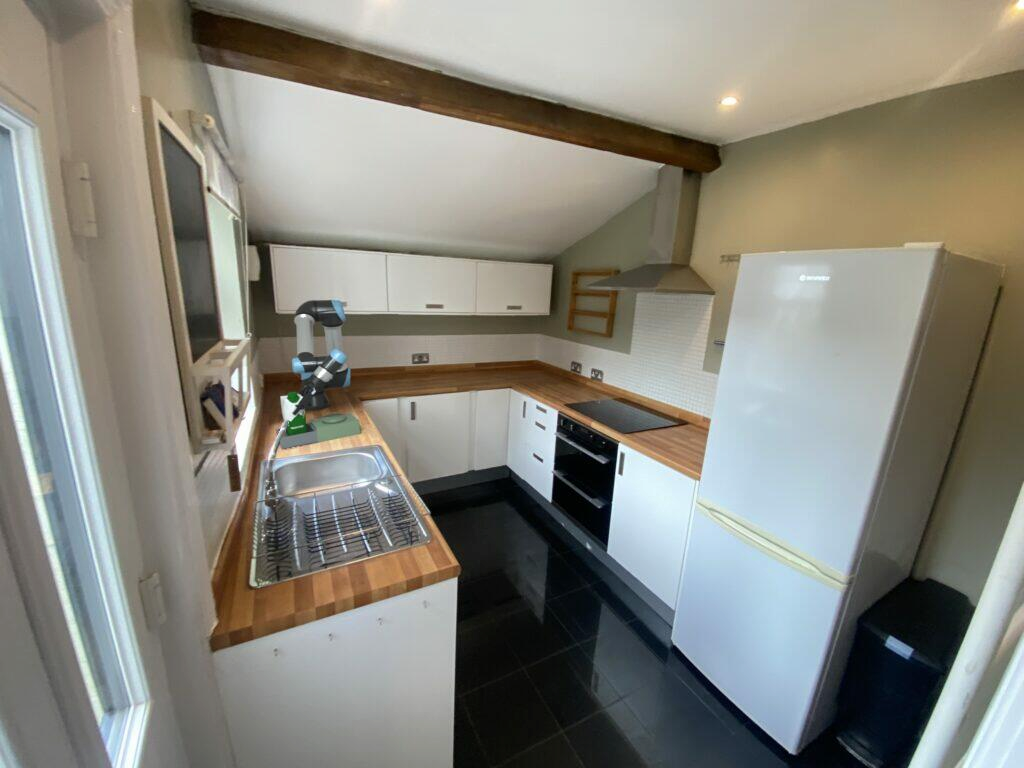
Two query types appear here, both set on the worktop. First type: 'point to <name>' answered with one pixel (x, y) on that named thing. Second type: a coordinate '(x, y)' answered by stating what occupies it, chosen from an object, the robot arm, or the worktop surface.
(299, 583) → the worktop surface
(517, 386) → the worktop surface
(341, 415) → the side socket deck
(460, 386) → the worktop surface
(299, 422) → the soya milk
